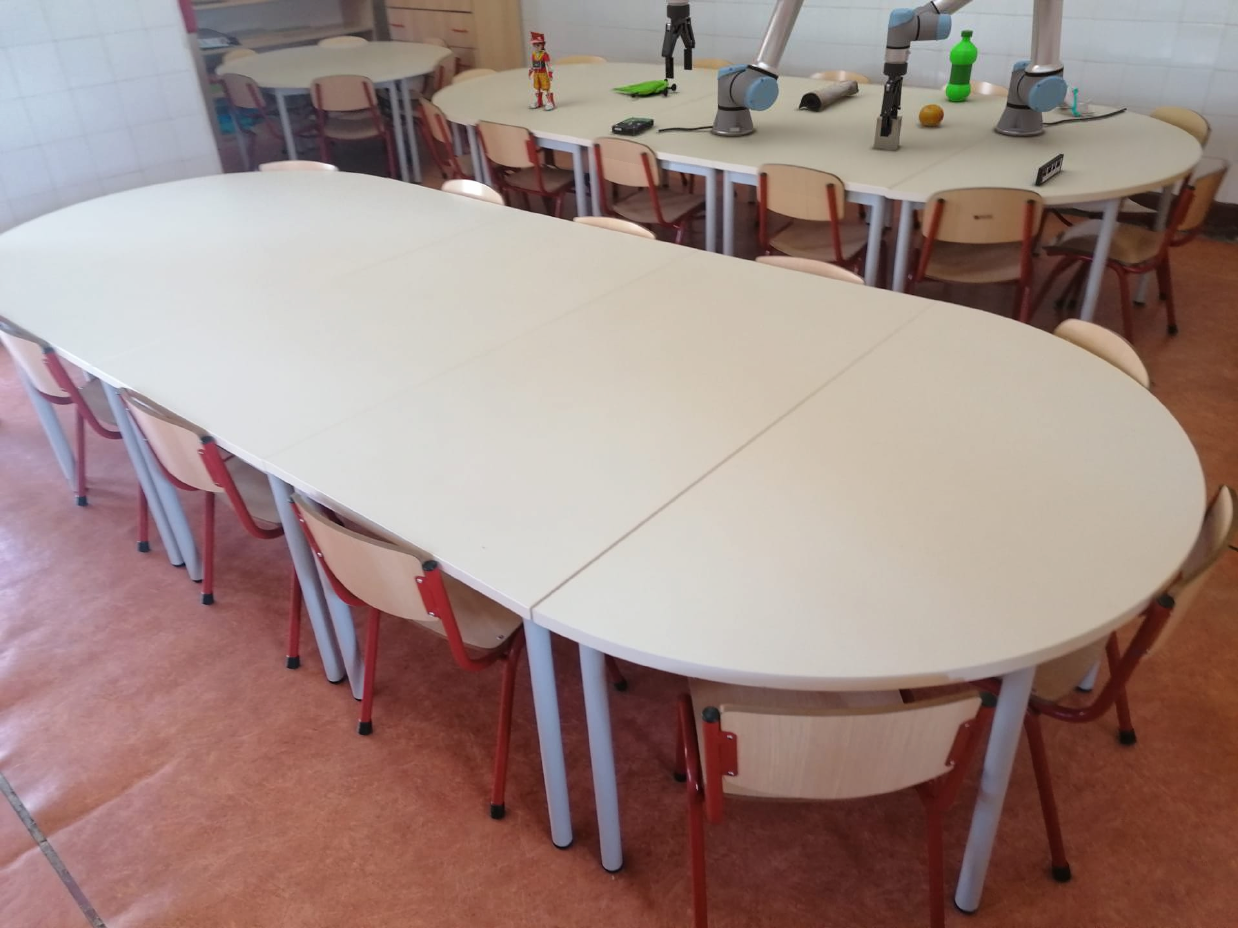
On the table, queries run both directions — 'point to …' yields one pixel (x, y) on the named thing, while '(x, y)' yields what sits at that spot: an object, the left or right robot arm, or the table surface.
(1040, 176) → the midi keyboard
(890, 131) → the brick
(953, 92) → the plastic bottle
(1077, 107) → the anatomical model
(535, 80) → the toy
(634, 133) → the disk drive
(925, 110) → the fruit
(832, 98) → the rolled mat
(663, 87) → the toy
